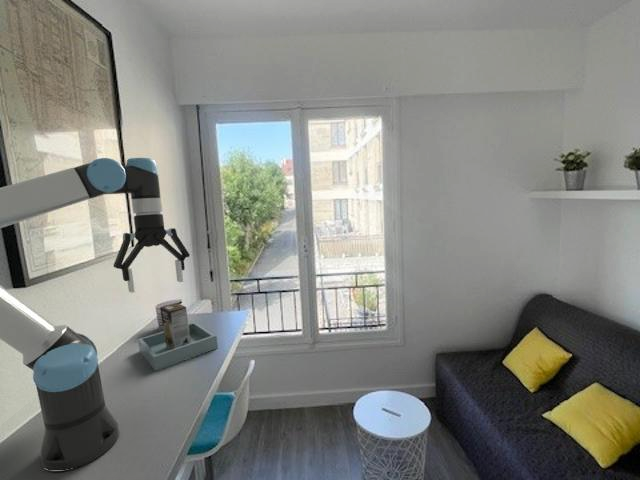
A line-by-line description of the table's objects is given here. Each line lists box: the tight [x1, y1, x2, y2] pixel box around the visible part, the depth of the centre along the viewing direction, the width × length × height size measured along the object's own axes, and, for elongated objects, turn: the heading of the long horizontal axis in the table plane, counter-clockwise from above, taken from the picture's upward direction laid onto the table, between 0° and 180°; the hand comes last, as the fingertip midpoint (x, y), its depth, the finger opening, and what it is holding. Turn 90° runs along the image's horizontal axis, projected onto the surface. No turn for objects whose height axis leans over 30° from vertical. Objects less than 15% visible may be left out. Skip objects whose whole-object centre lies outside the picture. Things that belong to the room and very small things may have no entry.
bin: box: [137, 321, 219, 372], centre depth 131 cm, size 22×22×5 cm
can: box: [154, 298, 184, 333], centre depth 155 cm, size 11×11×12 cm
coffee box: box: [160, 303, 191, 350], centre depth 130 cm, size 9×6×16 cm
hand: (157, 286), depth 101 cm, fingers open, 13 cm apart
